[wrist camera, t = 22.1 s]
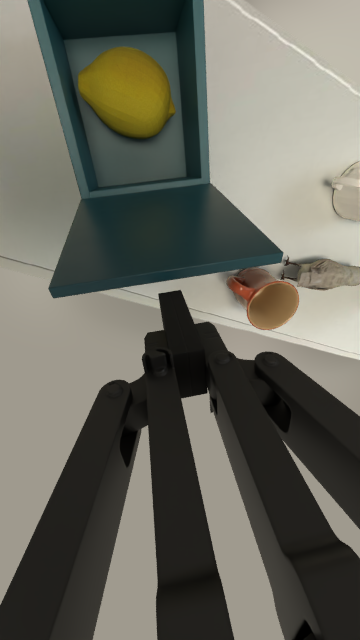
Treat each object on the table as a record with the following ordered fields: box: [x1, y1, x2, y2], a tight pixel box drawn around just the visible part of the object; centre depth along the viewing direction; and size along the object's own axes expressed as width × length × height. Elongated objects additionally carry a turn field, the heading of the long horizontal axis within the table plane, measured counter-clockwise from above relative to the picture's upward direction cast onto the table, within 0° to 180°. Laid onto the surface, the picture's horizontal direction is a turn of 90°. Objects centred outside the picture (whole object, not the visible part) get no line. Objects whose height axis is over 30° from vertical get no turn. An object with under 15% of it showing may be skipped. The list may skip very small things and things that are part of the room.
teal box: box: [27, 0, 210, 199], centre depth 30 cm, size 17×15×10 cm
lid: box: [49, 183, 283, 298], centre depth 23 cm, size 18×15×1 cm
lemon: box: [78, 46, 176, 139], centre depth 29 cm, size 11×8×8 cm
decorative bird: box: [280, 255, 360, 290], centre depth 47 cm, size 5×16×8 cm, turn 85°
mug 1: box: [226, 267, 299, 330], centre depth 45 cm, size 12×9×10 cm
